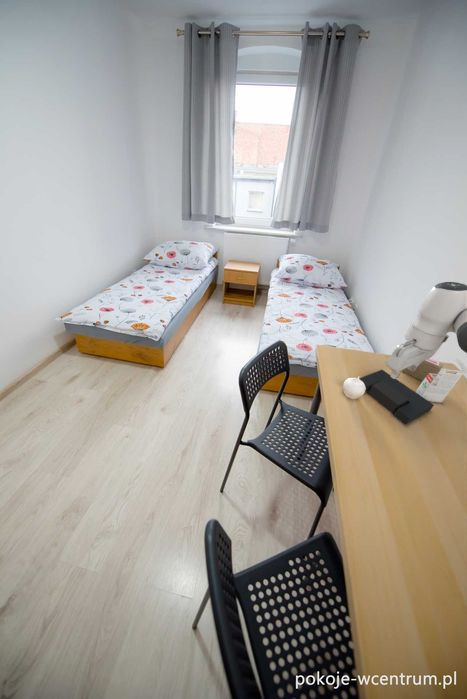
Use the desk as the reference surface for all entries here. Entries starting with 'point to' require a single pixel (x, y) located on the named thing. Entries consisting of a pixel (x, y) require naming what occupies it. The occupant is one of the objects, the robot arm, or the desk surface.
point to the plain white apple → (354, 388)
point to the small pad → (387, 396)
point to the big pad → (415, 403)
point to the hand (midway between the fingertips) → (402, 373)
